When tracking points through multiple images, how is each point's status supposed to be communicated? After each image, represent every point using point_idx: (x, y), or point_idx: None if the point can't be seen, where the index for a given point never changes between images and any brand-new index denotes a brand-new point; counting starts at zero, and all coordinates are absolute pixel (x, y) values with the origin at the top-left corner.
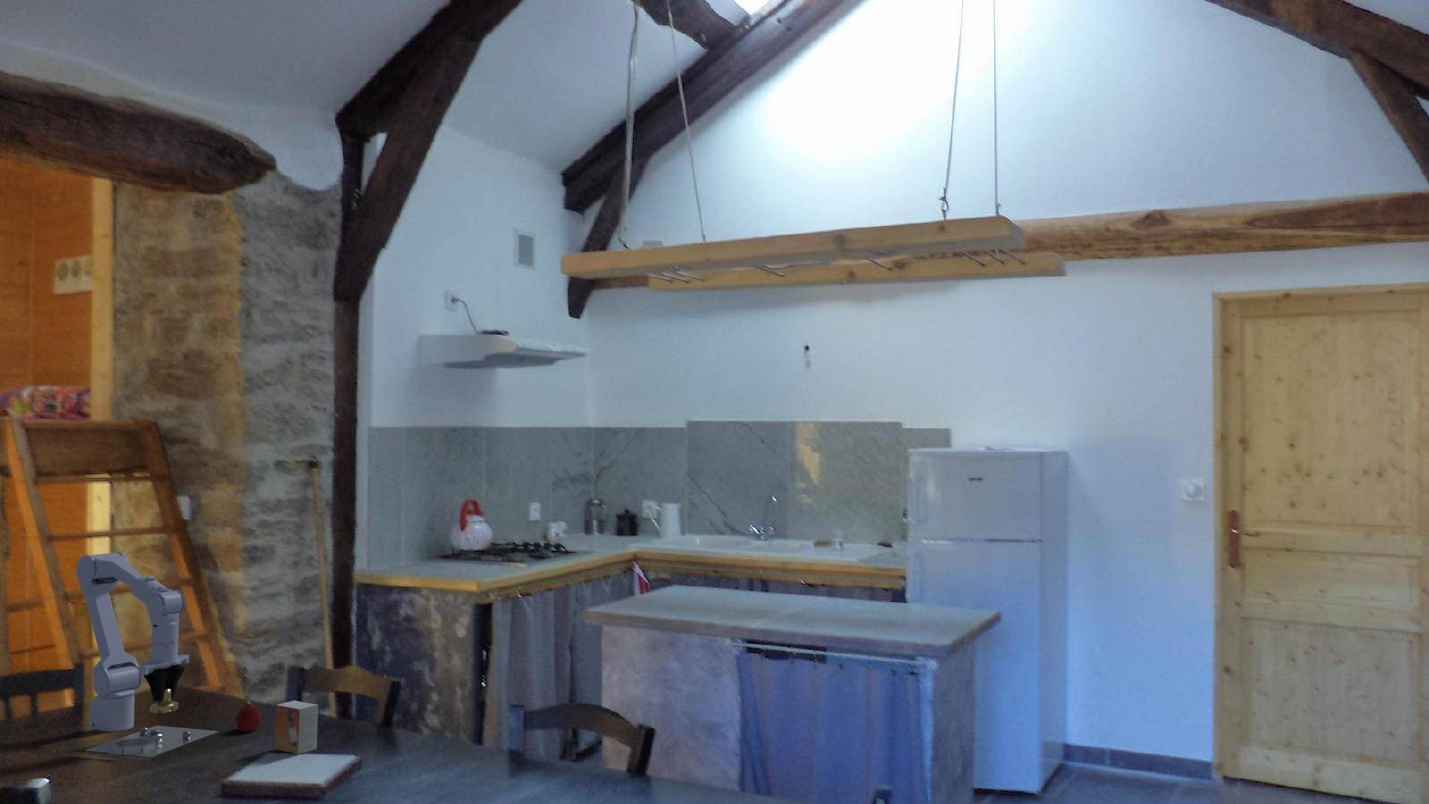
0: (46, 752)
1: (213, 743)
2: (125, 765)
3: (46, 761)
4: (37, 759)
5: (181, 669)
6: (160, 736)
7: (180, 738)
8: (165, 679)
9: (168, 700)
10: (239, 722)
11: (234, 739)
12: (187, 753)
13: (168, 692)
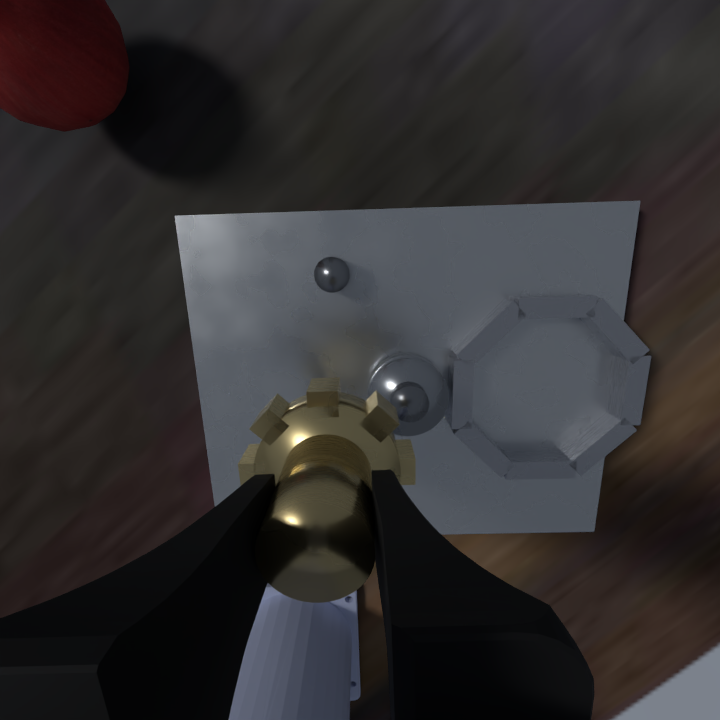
0: (580, 646)
1: (298, 140)
2: (692, 270)
3: (677, 575)
4: (659, 615)
5: (55, 639)
6: (413, 358)
7: (342, 302)
8: (410, 577)
9: (330, 451)
10: (118, 46)
11: (204, 85)
12: (476, 136)
13: (326, 487)
